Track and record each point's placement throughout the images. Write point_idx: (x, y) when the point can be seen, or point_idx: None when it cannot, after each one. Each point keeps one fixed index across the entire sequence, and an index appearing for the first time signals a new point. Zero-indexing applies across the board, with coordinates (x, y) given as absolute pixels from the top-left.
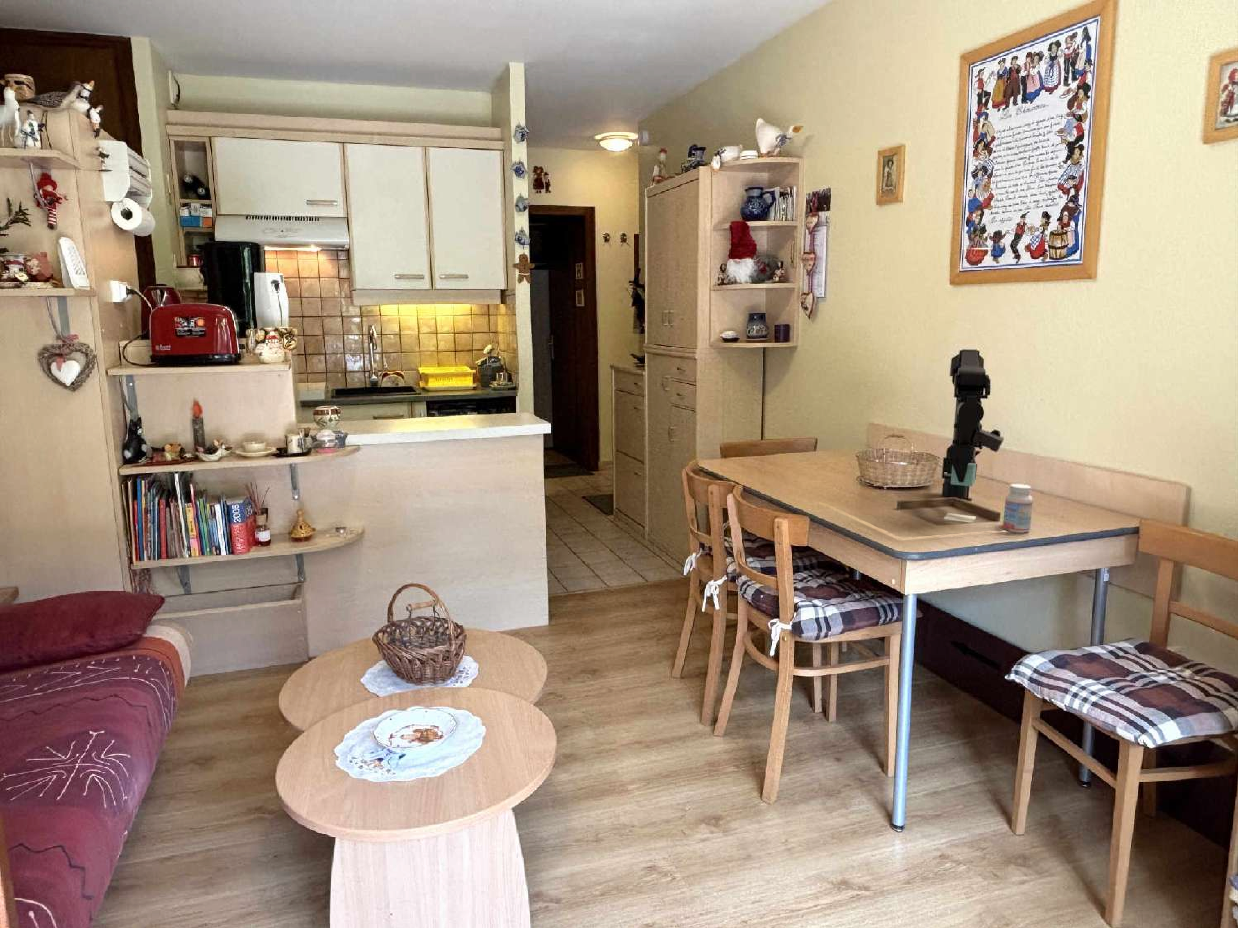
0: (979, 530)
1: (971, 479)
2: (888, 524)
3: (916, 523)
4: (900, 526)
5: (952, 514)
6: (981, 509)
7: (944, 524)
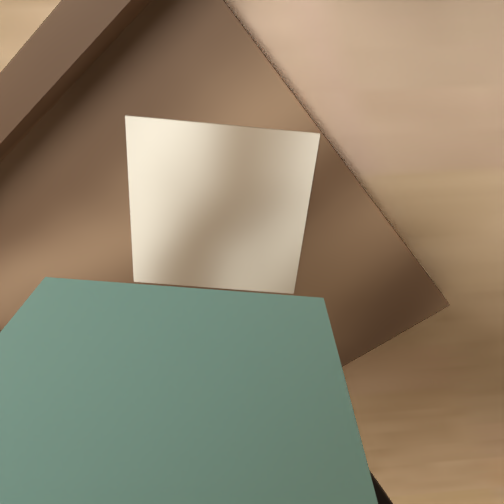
0: (422, 76)
1: (342, 376)
2: (420, 454)
3: (363, 377)
4: (442, 420)
5: (151, 257)
6: (51, 91)
7: (418, 278)
